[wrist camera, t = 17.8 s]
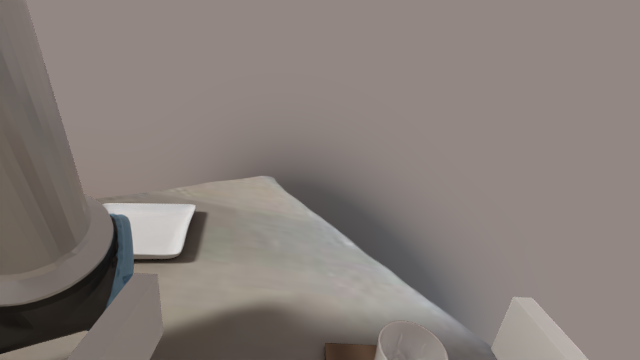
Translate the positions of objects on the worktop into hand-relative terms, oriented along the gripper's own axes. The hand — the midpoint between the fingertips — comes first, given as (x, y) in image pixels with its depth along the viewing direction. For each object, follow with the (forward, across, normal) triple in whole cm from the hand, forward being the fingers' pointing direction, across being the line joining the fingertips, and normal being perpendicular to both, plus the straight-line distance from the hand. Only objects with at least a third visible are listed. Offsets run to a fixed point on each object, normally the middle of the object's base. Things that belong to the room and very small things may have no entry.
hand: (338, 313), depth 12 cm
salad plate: (+51, -35, -33) cm, 70 cm away
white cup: (+17, +13, -31) cm, 38 cm away
